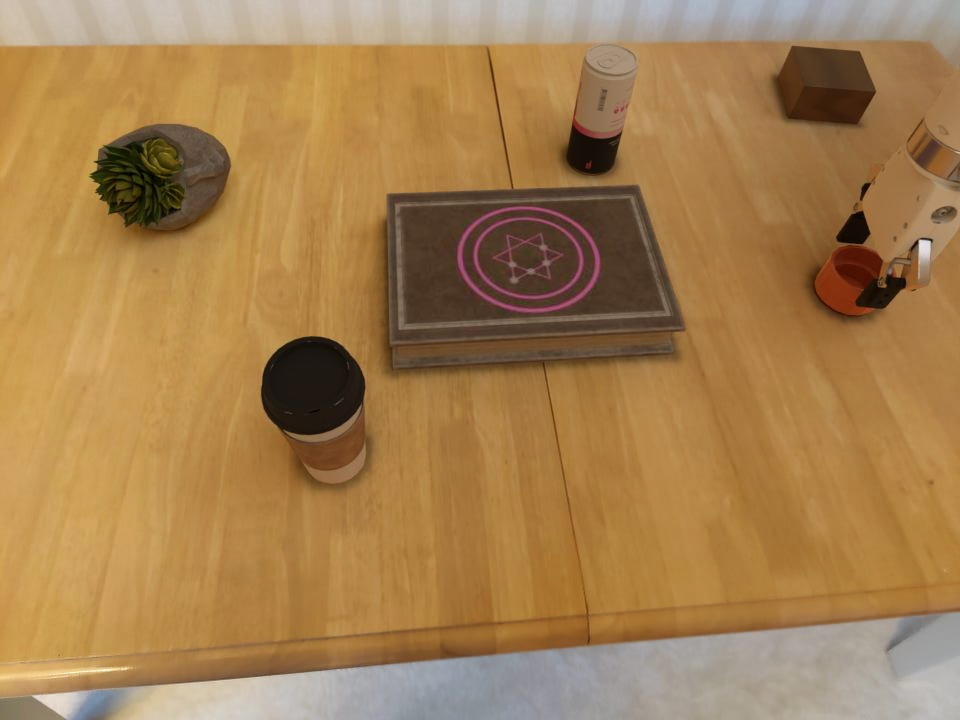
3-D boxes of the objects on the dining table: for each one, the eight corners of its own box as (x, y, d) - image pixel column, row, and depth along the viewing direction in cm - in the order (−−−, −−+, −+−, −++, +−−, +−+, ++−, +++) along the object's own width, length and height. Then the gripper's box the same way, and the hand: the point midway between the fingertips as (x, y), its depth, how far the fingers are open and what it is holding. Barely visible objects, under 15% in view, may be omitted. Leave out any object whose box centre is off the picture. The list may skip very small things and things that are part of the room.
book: (392, 371, 71) (389, 343, 66) (389, 221, 83) (386, 190, 79) (673, 355, 73) (686, 327, 69) (629, 211, 85) (638, 181, 81)
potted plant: (257, 170, 82) (192, 228, 71) (196, 217, 89) (128, 276, 77) (182, 84, 77) (100, 131, 66) (124, 140, 84) (40, 192, 72)
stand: (842, 84, 103) (860, 50, 98) (856, 125, 97) (876, 91, 93) (776, 79, 103) (791, 45, 98) (787, 119, 97) (804, 85, 93)
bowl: (867, 273, 81) (887, 247, 77) (882, 320, 77) (904, 295, 73) (807, 268, 81) (824, 242, 77) (819, 315, 77) (837, 289, 73)
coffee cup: (297, 506, 62) (258, 430, 50) (287, 428, 66) (249, 340, 54) (386, 485, 63) (370, 405, 51) (370, 410, 68) (352, 320, 56)
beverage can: (556, 160, 91) (572, 56, 78) (586, 138, 93) (607, 35, 81) (593, 184, 88) (616, 81, 76) (623, 161, 91) (651, 59, 78)
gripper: (1030, 217, 57) (912, 337, 71) (964, 95, 66) (872, 222, 80) (941, 209, 57) (842, 330, 71) (889, 88, 66) (810, 216, 80)
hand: (858, 272), depth 76 cm, fingers open, 9 cm apart
